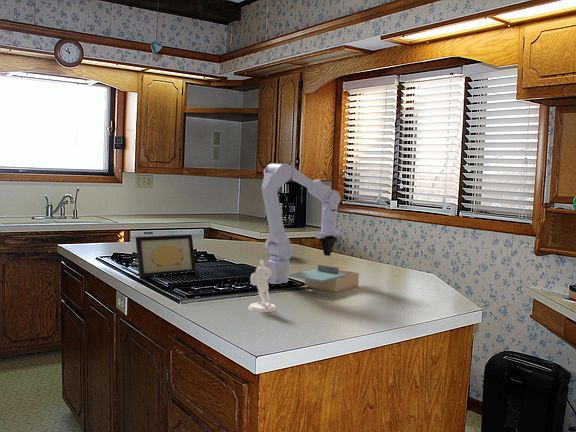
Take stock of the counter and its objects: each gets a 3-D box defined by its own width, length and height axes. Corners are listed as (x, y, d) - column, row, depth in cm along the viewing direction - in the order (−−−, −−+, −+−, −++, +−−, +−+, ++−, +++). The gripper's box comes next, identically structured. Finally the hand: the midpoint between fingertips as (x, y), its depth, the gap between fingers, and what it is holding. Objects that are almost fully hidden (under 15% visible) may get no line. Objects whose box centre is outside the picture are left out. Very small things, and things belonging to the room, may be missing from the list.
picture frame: (141, 278, 212) (140, 237, 212) (130, 276, 218) (129, 236, 218) (196, 273, 226) (195, 234, 226) (184, 271, 233) (183, 234, 233)
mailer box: (335, 292, 203) (336, 278, 202) (304, 286, 210) (305, 273, 210) (358, 286, 215) (358, 273, 215) (328, 281, 223) (329, 268, 223)
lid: (321, 282, 194) (321, 273, 194) (289, 276, 202) (289, 268, 202) (346, 276, 207) (346, 268, 207) (315, 270, 215) (315, 263, 215)
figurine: (242, 307, 176) (244, 258, 174) (263, 303, 182) (265, 256, 181) (261, 313, 170) (263, 262, 168) (283, 309, 176) (285, 260, 174)
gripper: (327, 222, 216) (325, 258, 217) (347, 220, 228) (345, 255, 229) (311, 220, 220) (310, 256, 221) (332, 219, 232) (330, 252, 233)
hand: (327, 255), depth 225 cm, fingers closed
